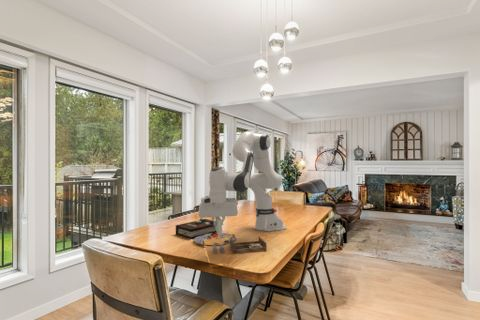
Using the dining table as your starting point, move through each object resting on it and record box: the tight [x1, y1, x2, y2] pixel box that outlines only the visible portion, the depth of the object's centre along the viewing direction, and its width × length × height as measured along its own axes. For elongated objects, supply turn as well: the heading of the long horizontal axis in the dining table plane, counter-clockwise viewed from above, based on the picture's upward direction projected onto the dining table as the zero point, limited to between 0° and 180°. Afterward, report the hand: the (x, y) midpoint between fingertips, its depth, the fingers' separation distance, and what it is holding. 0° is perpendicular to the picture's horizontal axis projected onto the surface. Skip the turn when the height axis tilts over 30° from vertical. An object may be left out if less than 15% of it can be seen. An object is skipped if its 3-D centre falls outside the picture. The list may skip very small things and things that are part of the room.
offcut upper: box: [250, 244, 261, 248], centre depth 144 cm, size 4×3×1 cm
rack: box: [229, 236, 267, 255], centre depth 145 cm, size 17×12×5 cm
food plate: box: [193, 232, 237, 246], centre depth 163 cm, size 25×23×4 cm
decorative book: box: [175, 218, 217, 240], centre depth 183 cm, size 19×8×30 cm
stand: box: [212, 243, 226, 255], centre depth 142 cm, size 7×8×4 cm
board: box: [214, 217, 223, 235], centre depth 141 cm, size 11×2×7 cm, turn 12°
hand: (218, 225), depth 142 cm, fingers closed on board, 2 cm apart
